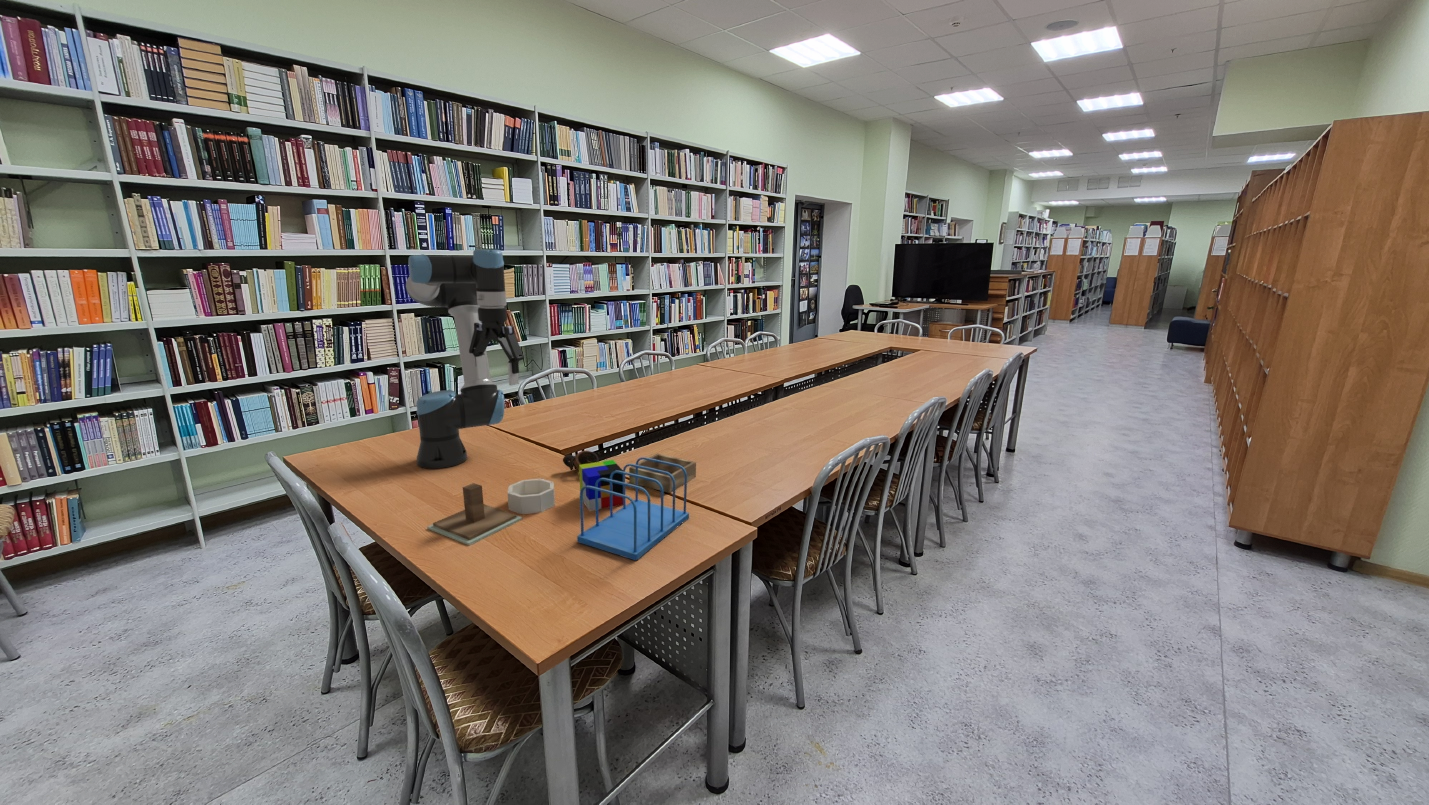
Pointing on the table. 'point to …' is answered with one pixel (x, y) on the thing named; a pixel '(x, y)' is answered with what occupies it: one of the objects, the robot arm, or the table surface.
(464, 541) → the mat
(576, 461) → the animal figurine
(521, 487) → the bowl
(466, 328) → the robot arm
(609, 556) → the table surface
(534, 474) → the table surface
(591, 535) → the file sorter
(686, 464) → the tray
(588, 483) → the puzzle toy
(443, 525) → the lid
